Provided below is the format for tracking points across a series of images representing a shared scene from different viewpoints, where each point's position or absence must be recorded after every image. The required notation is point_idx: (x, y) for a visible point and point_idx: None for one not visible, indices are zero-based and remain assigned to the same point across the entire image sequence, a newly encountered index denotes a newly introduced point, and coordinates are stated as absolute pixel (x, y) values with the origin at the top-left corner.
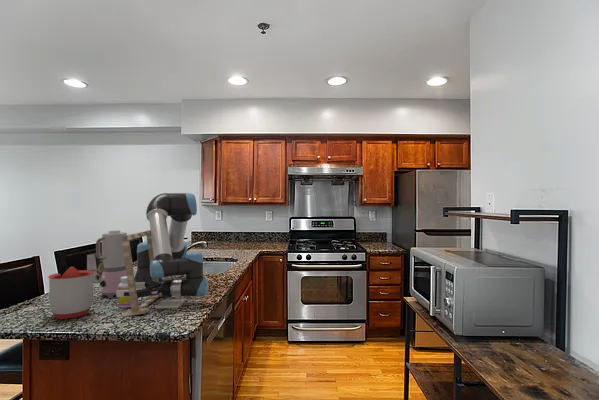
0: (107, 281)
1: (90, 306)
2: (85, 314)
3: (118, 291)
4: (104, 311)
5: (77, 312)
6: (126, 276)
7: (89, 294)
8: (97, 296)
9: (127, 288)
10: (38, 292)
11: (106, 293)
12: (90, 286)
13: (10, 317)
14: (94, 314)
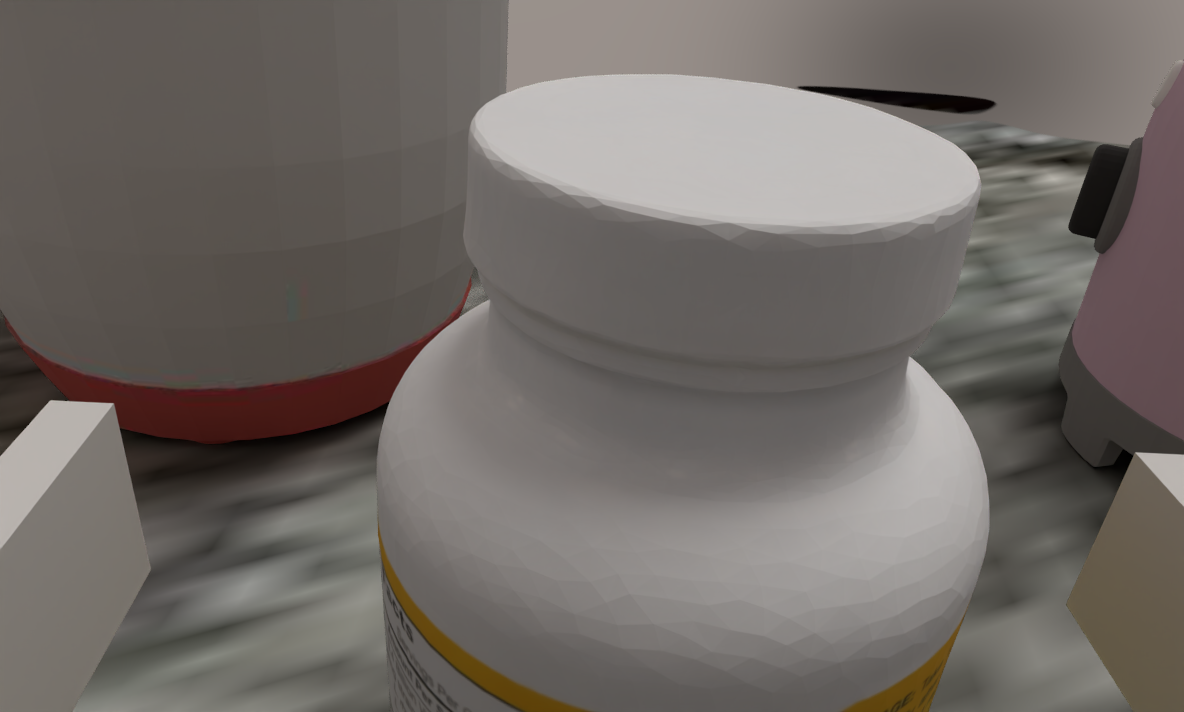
0: (1151, 182)
1: (259, 378)
2: (194, 439)
3: (19, 463)
4: (281, 607)
5: (20, 344)
6: (859, 125)
7: (60, 159)
8: (1066, 333)
9: (397, 588)
10: (995, 103)
11: (1071, 357)
12: (67, 2)
13: None
14: (150, 531)
